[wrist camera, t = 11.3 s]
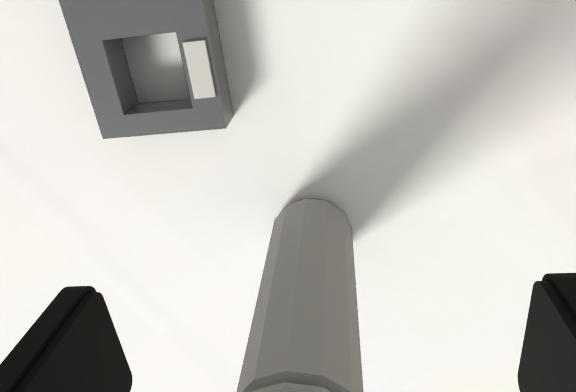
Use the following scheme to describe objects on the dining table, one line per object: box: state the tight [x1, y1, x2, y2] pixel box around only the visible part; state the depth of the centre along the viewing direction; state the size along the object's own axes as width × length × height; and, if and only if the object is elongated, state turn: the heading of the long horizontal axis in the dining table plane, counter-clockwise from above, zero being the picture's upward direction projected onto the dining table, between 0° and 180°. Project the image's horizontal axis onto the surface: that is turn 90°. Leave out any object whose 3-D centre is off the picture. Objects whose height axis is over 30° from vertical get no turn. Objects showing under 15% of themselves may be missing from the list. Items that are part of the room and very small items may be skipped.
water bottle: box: [237, 198, 363, 392], centre depth 31 cm, size 9×8×25 cm
